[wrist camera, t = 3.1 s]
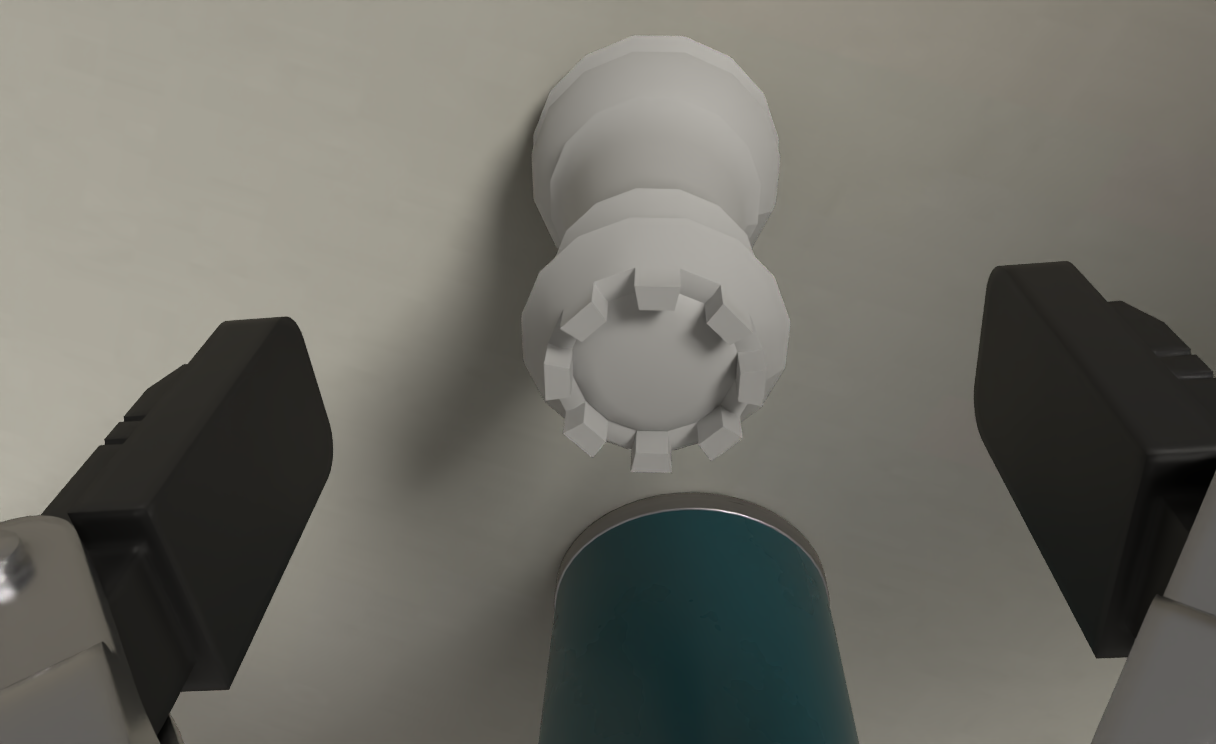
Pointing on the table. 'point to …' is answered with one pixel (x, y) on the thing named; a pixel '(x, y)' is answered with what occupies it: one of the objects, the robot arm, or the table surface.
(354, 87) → the table surface
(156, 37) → the table surface
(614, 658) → the tin can
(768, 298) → the rook chess piece
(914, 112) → the table surface
